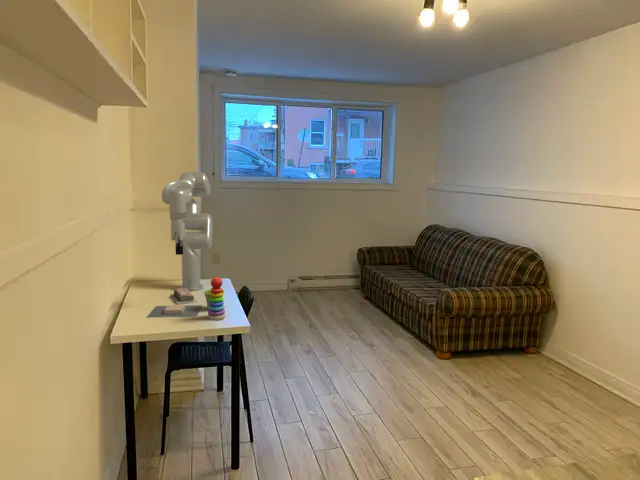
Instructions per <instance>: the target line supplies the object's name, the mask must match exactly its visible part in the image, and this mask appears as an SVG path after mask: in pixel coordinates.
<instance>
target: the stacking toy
mask: <svg viewBox="0 0 640 480" xmlns="http://www.w3.org/2000/svg"><path fill="white" fill-rule="evenodd" d="M210 286H211V288H210V290H211V293H210V296H211V297H210V302H209V307H207V316H206V317H207V319H208V320H211V321H220V320H223V319H225V318H226V311H225V310H226V309H225V305H224V304H225V303H224V293H222V290H223V288H222V286H223V279H221V277H219V276H216V277H213V278H212V279H211V280H210ZM222 296H223V297H222ZM208 309H209V310H208Z"/></svg>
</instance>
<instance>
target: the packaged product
mask: <svg viewBox="0 0 640 480" xmlns="http://www.w3.org/2000/svg"><path fill="white" fill-rule="evenodd" d="M170 298H171V299H172V301H174V303H175V305H187V304H195V303H198V300H197V299H195V297H194V295H193V294H192V293H191V291H188V290H187V289H186V288H180V287H179V288H174V290H173V294H172V293H171V294H170Z"/></svg>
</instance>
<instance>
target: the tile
mask: <svg viewBox="0 0 640 480" xmlns="http://www.w3.org/2000/svg"><path fill="white" fill-rule="evenodd" d="M166 306H167V307H166V308H165V310H164V315H166V314H183V312H184V311H185V306H186V304H179V305H177V304H172V305H171V304H168V305H166Z"/></svg>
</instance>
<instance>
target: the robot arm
mask: <svg viewBox="0 0 640 480" xmlns="http://www.w3.org/2000/svg"><path fill="white" fill-rule="evenodd" d="M210 194H211V184H210V182H209V178H208V176H207V175H206V173H205V172H201V171H198V172H197V171H195V172H194V171H192V172H191V171H187V172H183V173H182V174H180V177H179V178H178V180H176V181H173V182H170V183H167V184H166V185H165V186H163V189H162V191H161V201H162V202H163V203H164V204H166V205H169V220H171V223H170V240H171V241H172V242H174V243H175V255H179V256H180V255H181V277H182V278H181V279H182V281H181V283H182V285H179V288H186V289H187V290H188V291H189V292H193V291H199V290H202V289H203V288H204V285H203V284H201V268H200V266H201V265H200V256H199V254H198V252H197V251H196V250H209V249H211V248H212V245H213V225H214V224H213V217H212V215H211V214H209V213H206V212H205V213H204V212H203V213H201V212H200V204H199V203H198V202H197V200H196V199H194V198H193V197H195V198H196V197H198V198H201V197H202V198H204V197H205V198H207V197H209V195H210Z"/></svg>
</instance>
